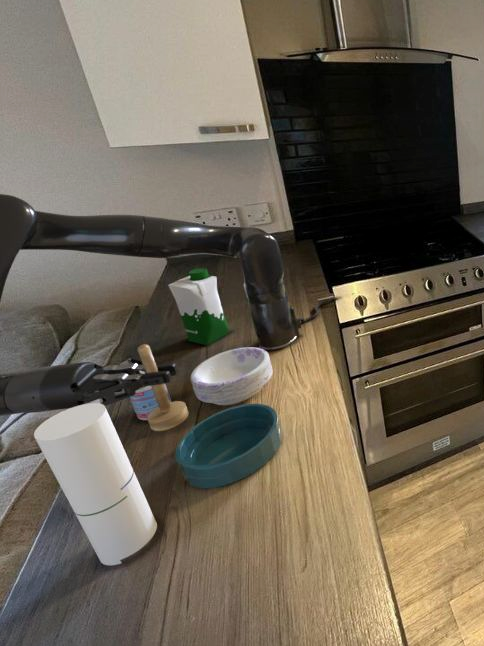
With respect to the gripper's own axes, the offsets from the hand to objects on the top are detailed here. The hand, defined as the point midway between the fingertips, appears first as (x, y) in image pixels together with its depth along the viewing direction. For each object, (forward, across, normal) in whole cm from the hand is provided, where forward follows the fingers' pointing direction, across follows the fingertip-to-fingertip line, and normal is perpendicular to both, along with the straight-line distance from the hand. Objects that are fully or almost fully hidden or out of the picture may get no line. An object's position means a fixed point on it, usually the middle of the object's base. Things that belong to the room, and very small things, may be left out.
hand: (172, 372), depth 79 cm
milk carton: (-17, +48, +20) cm, 54 cm away
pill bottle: (-15, +16, +20) cm, 30 cm away
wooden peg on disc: (-3, 0, +10) cm, 11 cm away
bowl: (+7, -1, +20) cm, 21 cm away
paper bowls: (0, +19, +20) cm, 28 cm away
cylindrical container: (-3, -17, +20) cm, 26 cm away
